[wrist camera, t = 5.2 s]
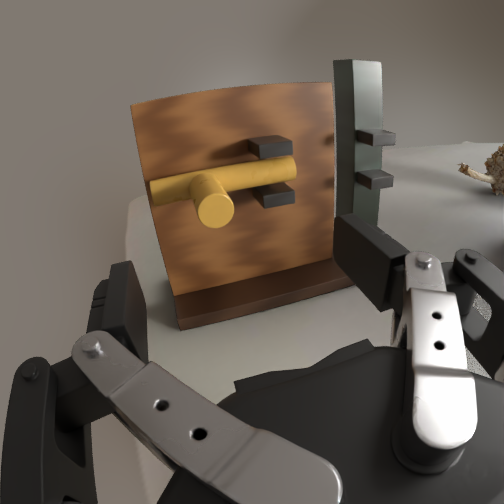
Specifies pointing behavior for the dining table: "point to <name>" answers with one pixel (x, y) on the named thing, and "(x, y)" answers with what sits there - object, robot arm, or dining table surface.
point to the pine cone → (490, 171)
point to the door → (264, 187)
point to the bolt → (220, 186)
